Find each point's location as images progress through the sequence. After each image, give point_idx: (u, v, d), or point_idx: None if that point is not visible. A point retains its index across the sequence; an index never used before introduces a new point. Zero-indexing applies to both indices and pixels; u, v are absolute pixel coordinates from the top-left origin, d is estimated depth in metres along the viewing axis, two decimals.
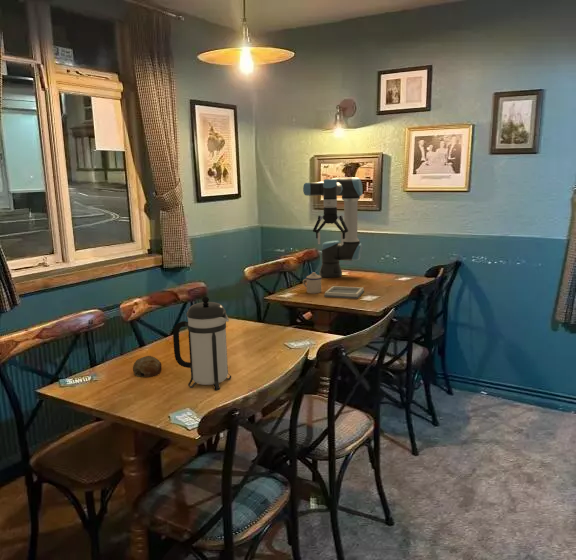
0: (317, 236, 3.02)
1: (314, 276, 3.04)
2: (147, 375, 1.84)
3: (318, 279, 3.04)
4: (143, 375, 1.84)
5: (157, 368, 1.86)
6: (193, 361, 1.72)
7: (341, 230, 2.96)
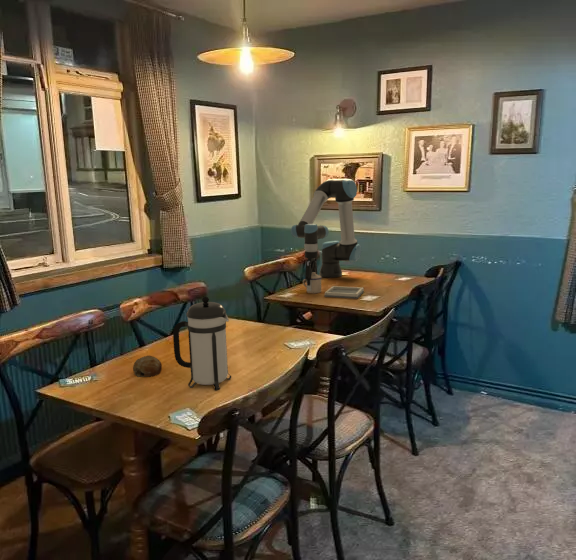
0: None
1: (314, 276, 3.05)
2: (147, 375, 1.84)
3: (318, 279, 3.04)
4: (143, 375, 1.84)
5: (157, 368, 1.86)
6: (193, 361, 1.72)
7: None
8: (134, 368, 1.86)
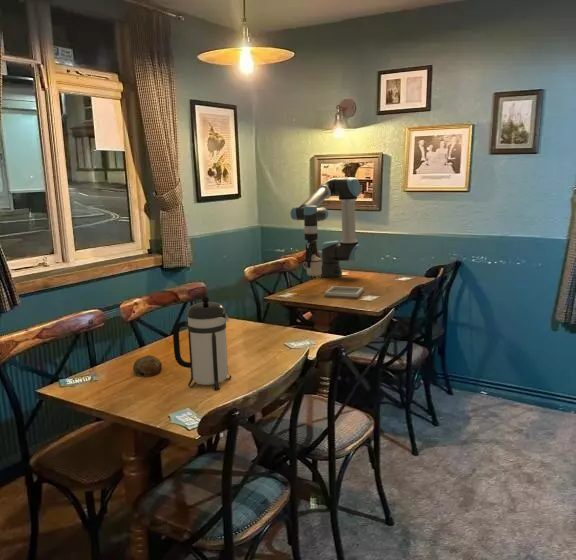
0: None
1: (314, 258, 3.03)
2: (147, 375, 1.84)
3: (318, 261, 3.03)
4: (143, 375, 1.85)
5: (157, 368, 1.86)
6: (193, 361, 1.72)
7: None
8: (134, 368, 1.86)
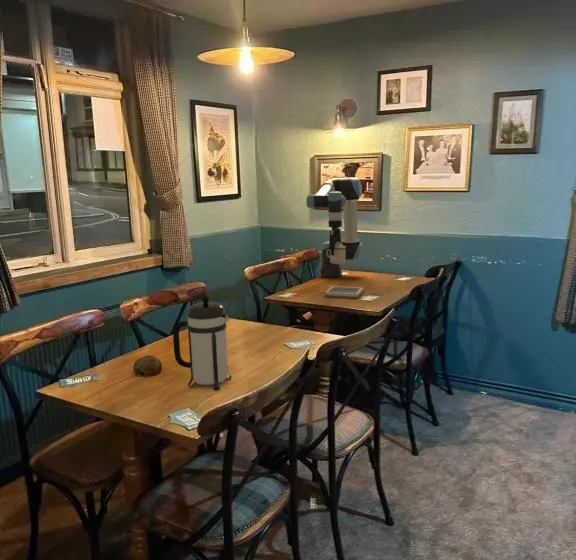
0: None
1: (338, 246, 2.95)
2: (147, 374, 1.85)
3: (342, 249, 2.94)
4: (143, 374, 1.85)
5: (157, 367, 1.86)
6: (193, 361, 1.72)
7: None
8: (134, 368, 1.86)
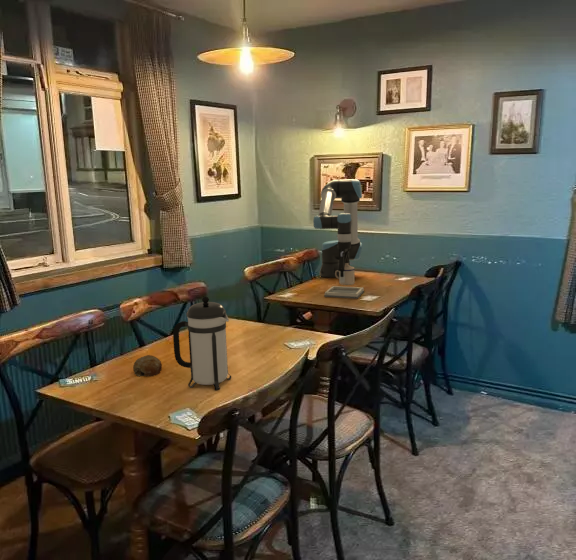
0: None
1: (347, 267, 2.95)
2: (147, 374, 1.85)
3: (351, 270, 2.95)
4: (143, 374, 1.85)
5: (157, 367, 1.87)
6: (193, 361, 1.72)
7: None
8: (134, 368, 1.86)
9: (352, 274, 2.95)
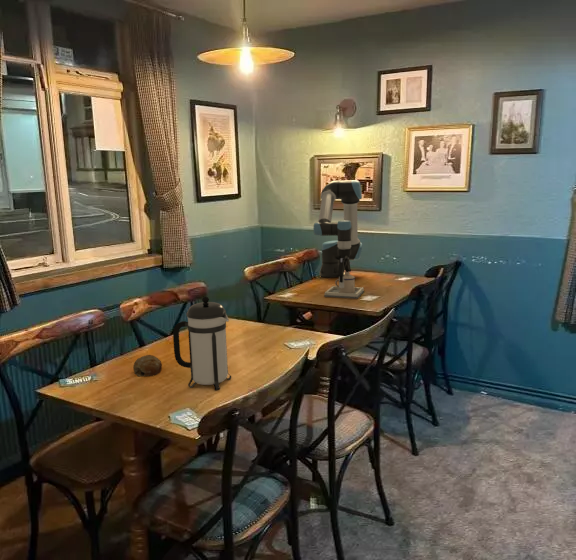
0: None
1: (347, 276, 2.96)
2: (147, 374, 1.85)
3: (352, 279, 2.96)
4: (143, 374, 1.85)
5: (157, 367, 1.87)
6: (193, 361, 1.72)
7: None
8: (134, 367, 1.87)
9: (352, 283, 2.97)
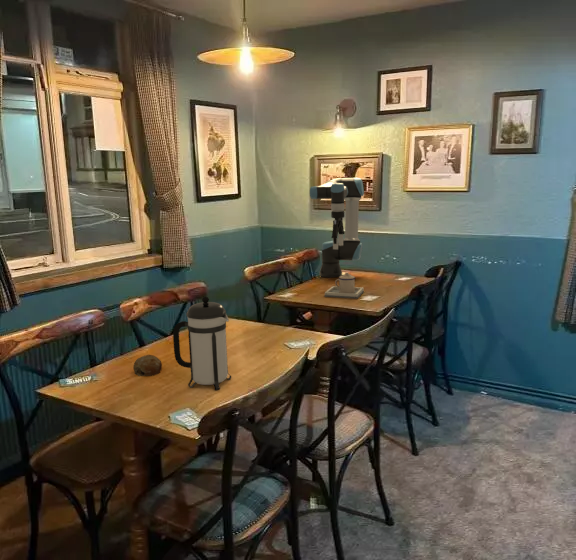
0: None
1: (347, 276, 2.96)
2: (147, 374, 1.85)
3: (352, 279, 2.96)
4: (143, 374, 1.85)
5: (157, 367, 1.87)
6: (193, 361, 1.72)
7: None
8: (134, 367, 1.87)
9: (352, 283, 2.97)
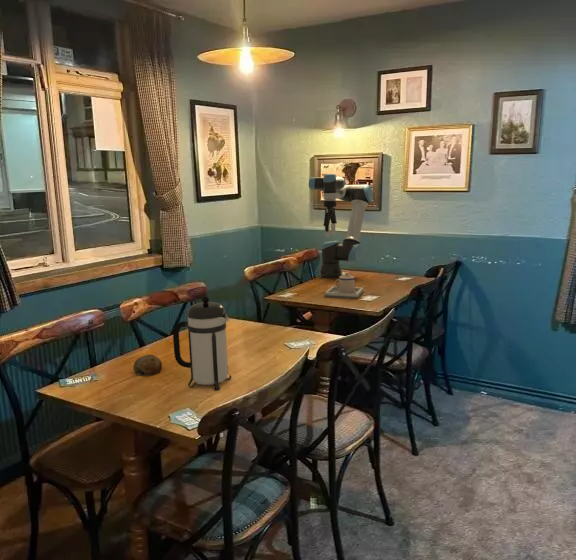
0: None
1: (347, 276, 2.96)
2: (147, 374, 1.85)
3: (352, 279, 2.96)
4: (144, 374, 1.85)
5: (157, 367, 1.87)
6: (193, 361, 1.72)
7: None
8: (134, 367, 1.87)
9: (352, 283, 2.97)
